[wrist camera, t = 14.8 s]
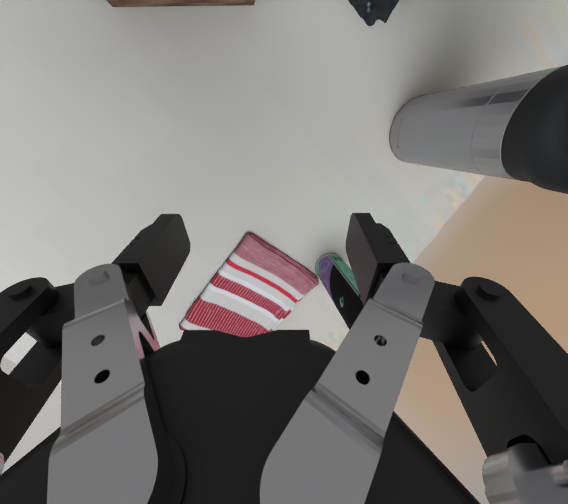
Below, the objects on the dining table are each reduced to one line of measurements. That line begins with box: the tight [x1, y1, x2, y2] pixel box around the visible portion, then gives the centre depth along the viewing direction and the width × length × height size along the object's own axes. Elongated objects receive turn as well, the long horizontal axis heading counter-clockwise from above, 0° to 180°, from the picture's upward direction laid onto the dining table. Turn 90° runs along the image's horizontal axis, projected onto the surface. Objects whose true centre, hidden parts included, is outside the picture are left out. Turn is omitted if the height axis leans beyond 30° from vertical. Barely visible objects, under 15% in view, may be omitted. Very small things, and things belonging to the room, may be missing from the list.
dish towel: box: [179, 233, 319, 337], centre depth 44 cm, size 17×23×3 cm
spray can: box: [315, 253, 364, 329], centre depth 36 cm, size 6×6×20 cm
